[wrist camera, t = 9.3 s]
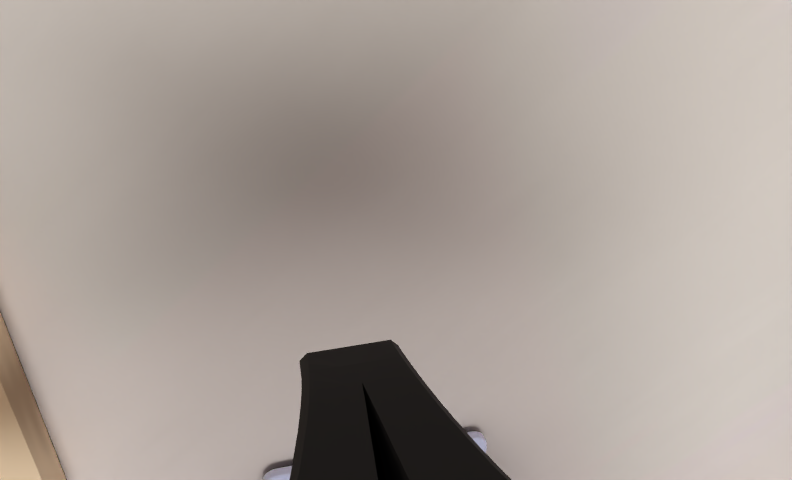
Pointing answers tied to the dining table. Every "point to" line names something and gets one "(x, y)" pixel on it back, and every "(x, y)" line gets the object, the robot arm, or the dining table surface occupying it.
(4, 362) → the oak board
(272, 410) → the dining table surface
